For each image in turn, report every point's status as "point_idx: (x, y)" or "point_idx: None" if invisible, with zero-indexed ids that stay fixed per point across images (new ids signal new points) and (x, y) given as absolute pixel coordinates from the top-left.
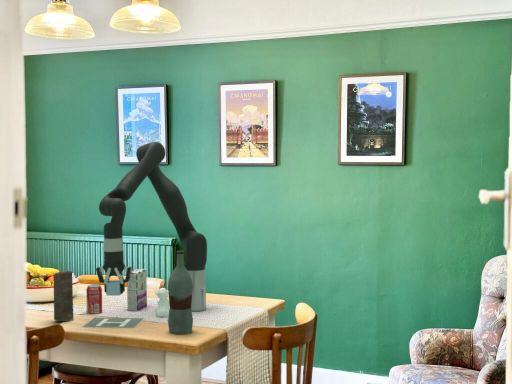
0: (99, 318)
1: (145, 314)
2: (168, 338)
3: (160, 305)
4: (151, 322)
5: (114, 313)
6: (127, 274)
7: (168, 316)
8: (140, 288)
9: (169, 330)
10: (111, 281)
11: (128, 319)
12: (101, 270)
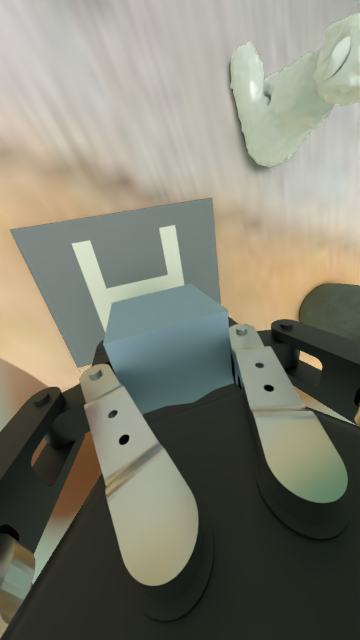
0: (45, 242)
1: (181, 74)
2: (300, 359)
3: (294, 131)
4: (242, 232)
5: (9, 60)
6: (341, 404)
7: (329, 330)
8: None
9: (302, 322)
10: (153, 383)
11: (166, 232)
12: (14, 593)
